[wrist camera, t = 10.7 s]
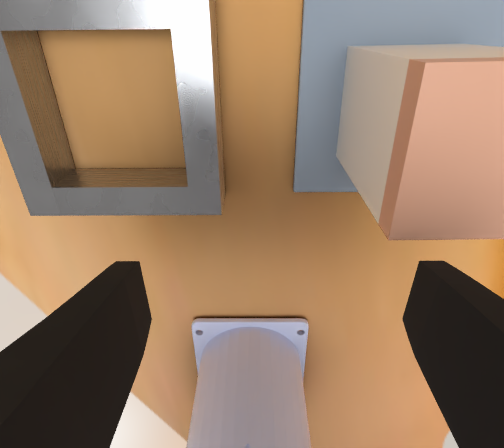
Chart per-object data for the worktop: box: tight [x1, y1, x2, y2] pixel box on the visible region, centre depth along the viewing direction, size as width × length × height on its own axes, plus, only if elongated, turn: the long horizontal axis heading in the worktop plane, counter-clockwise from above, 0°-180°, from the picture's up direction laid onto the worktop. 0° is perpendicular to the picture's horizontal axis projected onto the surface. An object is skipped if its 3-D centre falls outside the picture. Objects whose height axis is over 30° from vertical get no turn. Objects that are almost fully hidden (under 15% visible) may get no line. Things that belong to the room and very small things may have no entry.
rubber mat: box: [293, 0, 504, 192], centre depth 17 cm, size 9×9×1 cm
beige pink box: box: [336, 44, 504, 240], centre depth 13 cm, size 5×5×8 cm
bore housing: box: [0, 0, 225, 216], centre depth 16 cm, size 10×10×2 cm
